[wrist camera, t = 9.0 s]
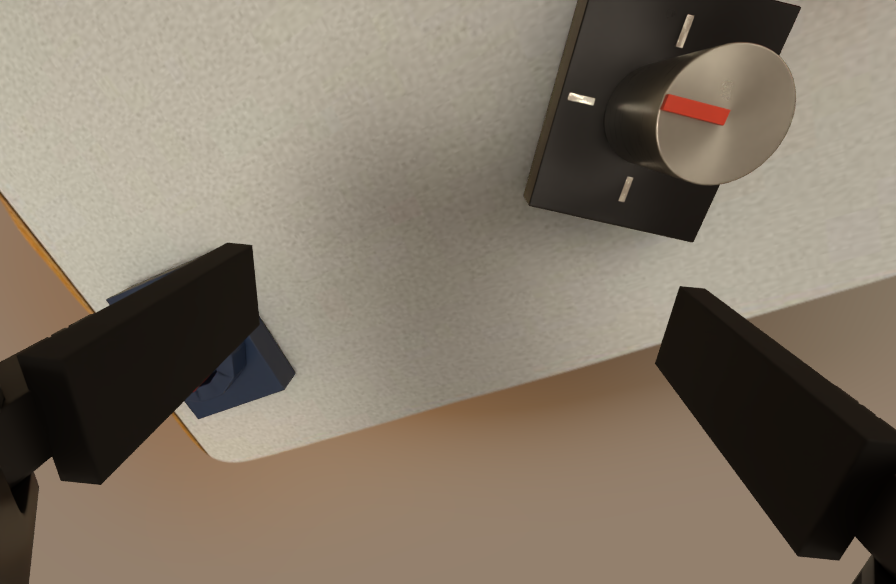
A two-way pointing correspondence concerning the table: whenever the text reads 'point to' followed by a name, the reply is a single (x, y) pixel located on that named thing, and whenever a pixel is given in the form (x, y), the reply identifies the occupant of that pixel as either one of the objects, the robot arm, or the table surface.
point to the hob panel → (593, 82)
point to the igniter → (235, 368)
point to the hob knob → (703, 113)
